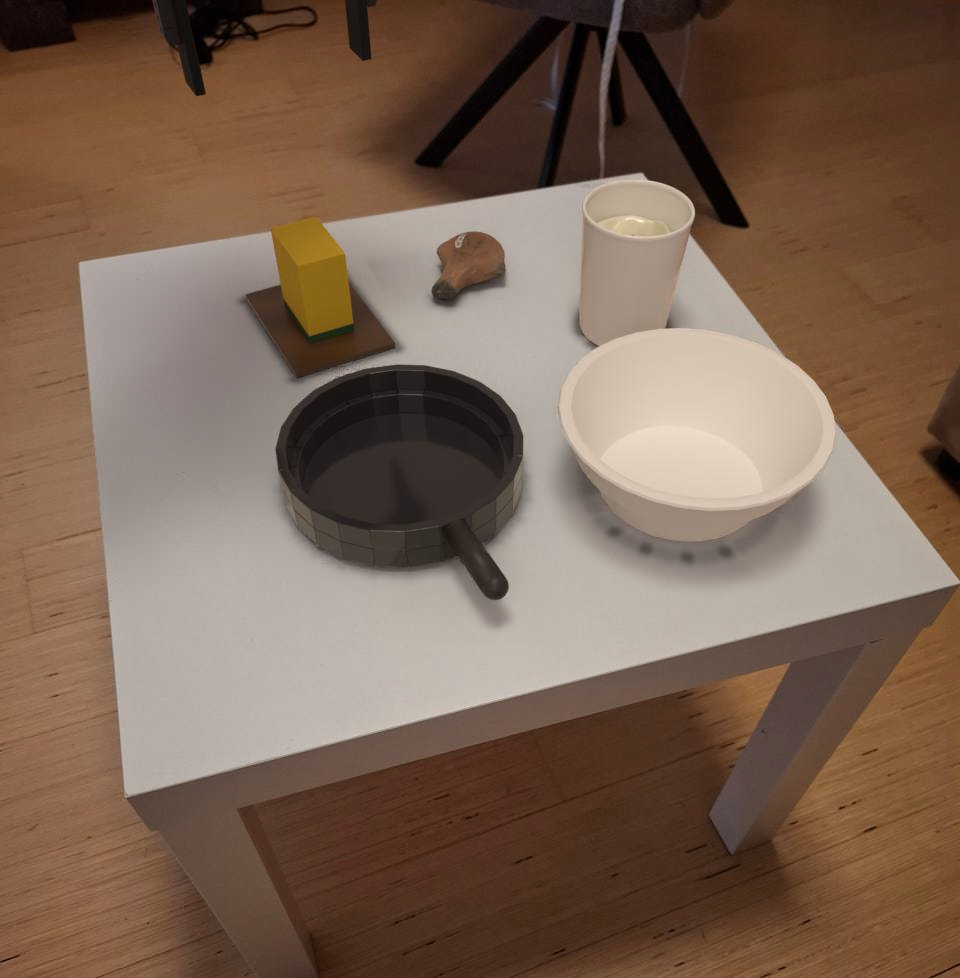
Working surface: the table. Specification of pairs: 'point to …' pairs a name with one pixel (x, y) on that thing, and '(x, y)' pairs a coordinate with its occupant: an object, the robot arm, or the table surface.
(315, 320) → the sponge
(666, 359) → the bowl
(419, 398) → the pan
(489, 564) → the pan handle
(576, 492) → the table surface
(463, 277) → the oil lamp
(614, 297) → the candle holder
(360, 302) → the brown flat slab
